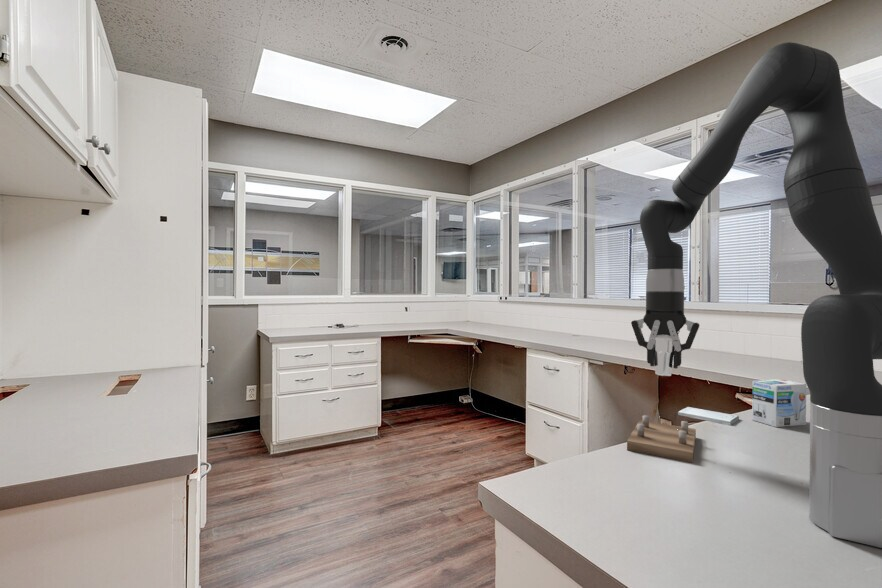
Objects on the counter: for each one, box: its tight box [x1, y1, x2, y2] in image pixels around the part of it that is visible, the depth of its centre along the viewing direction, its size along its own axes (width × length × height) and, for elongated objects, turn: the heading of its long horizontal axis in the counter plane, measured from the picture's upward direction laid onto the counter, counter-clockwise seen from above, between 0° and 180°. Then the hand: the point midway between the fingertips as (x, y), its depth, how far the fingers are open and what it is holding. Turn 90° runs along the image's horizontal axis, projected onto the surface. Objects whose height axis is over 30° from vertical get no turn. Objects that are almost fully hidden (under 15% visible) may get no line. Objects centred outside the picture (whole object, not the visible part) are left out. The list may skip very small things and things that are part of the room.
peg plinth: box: [626, 414, 697, 464], centre depth 94 cm, size 18×12×4 cm, turn 147°
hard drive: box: [677, 406, 740, 426], centre depth 116 cm, size 2×8×12 cm
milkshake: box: [654, 329, 681, 377], centre depth 94 cm, size 4×5×10 cm
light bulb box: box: [751, 378, 807, 428], centre depth 111 cm, size 11×7×11 cm, turn 105°
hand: (664, 366), depth 94 cm, fingers closed on milkshake, 4 cm apart
